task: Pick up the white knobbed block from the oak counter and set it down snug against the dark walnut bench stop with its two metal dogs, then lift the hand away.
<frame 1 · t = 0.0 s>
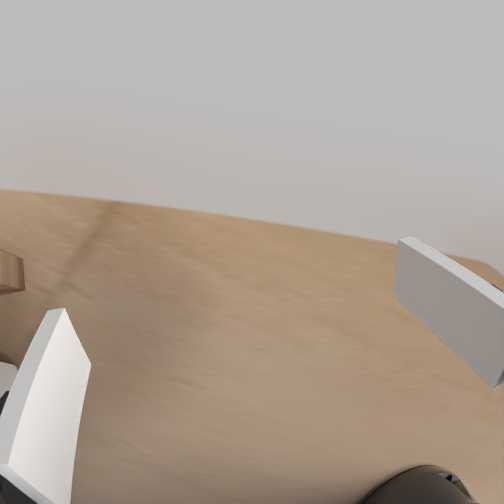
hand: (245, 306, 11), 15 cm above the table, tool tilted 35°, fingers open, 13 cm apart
white knobbed block: (21, 419, 21), on the table
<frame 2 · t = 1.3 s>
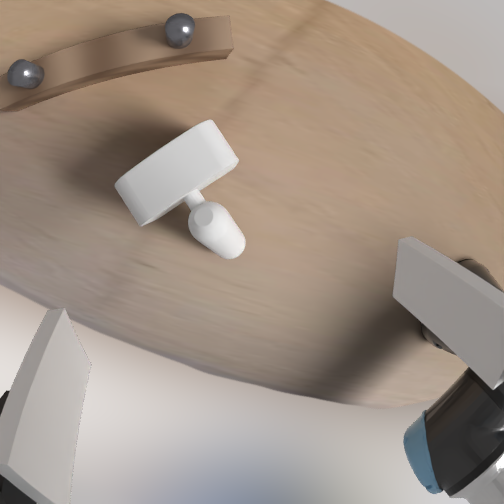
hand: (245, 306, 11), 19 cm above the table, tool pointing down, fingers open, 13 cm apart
white knobbed block: (199, 198, 29), on the table
bench stop: (111, 63, 22), on the table
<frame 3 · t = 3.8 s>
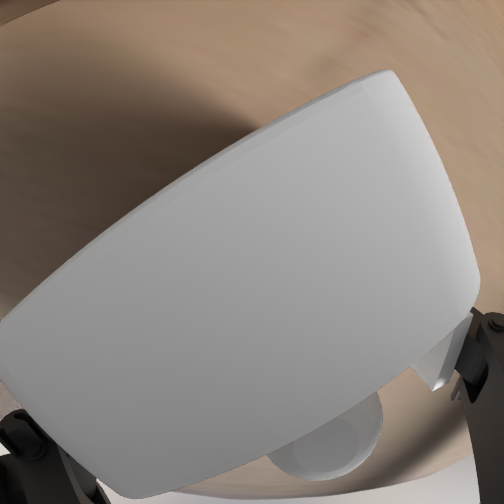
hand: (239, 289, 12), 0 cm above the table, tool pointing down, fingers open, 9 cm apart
white knobbed block: (248, 281, 13), on the table, touching gripper
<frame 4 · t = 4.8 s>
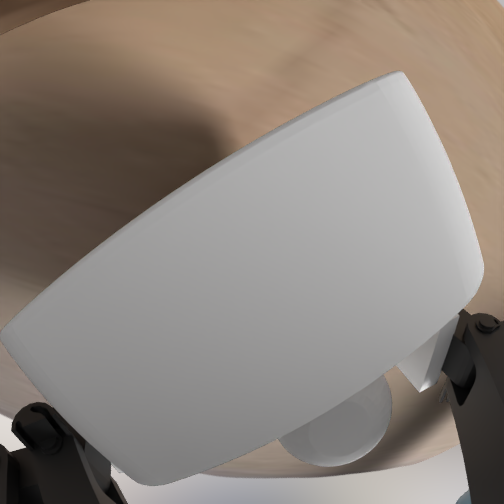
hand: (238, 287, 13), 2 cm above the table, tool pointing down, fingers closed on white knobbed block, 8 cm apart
white knobbed block: (256, 276, 13), point 2 cm above the table, touching gripper
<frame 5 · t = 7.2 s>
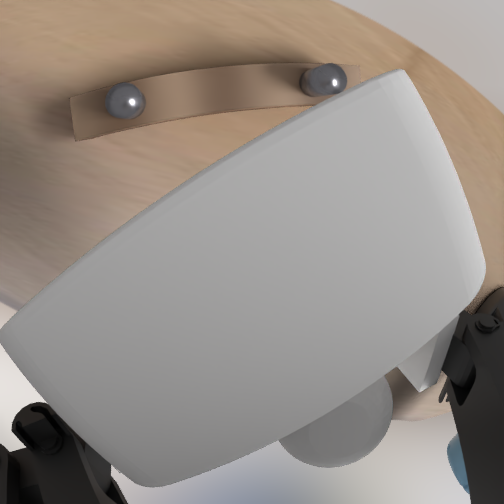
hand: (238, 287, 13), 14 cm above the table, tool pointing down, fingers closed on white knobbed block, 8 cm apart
white knobbed block: (256, 275, 13), point 13 cm above the table, touching gripper
bench stop: (216, 94, 22), on the table
when the fingers open (1 cm above the table, at t = 9.7 s): white knobbed block drops 1 cm, on the table.
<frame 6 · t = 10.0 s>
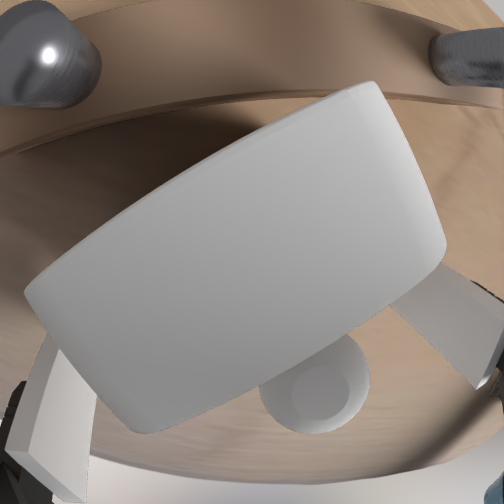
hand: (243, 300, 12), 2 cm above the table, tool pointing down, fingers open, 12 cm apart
white knobbed block: (249, 264, 14), on the table
bench stop: (256, 63, 11), on the table
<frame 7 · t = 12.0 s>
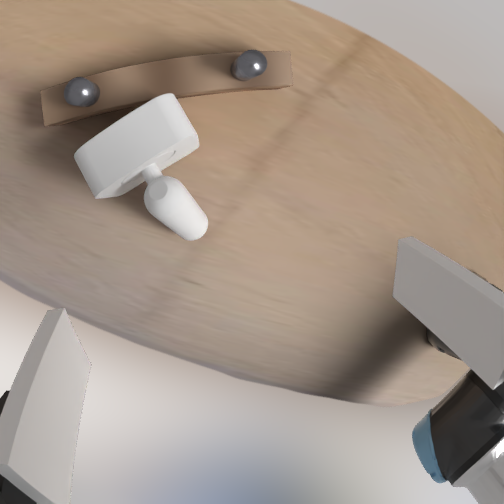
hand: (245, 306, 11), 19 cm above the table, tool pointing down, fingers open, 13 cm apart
white knobbed block: (164, 177, 27), on the table
bench stop: (165, 84, 24), on the table
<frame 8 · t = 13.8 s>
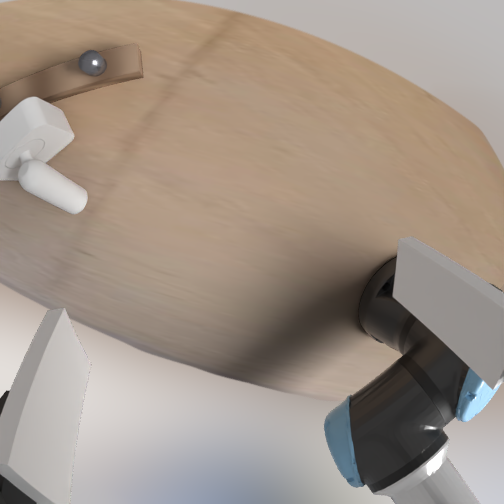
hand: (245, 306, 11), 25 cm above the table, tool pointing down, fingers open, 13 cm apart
white knobbed block: (57, 163, 29), on the table
bench stop: (54, 88, 25), on the table
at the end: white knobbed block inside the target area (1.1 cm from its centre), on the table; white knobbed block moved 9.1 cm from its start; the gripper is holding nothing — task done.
